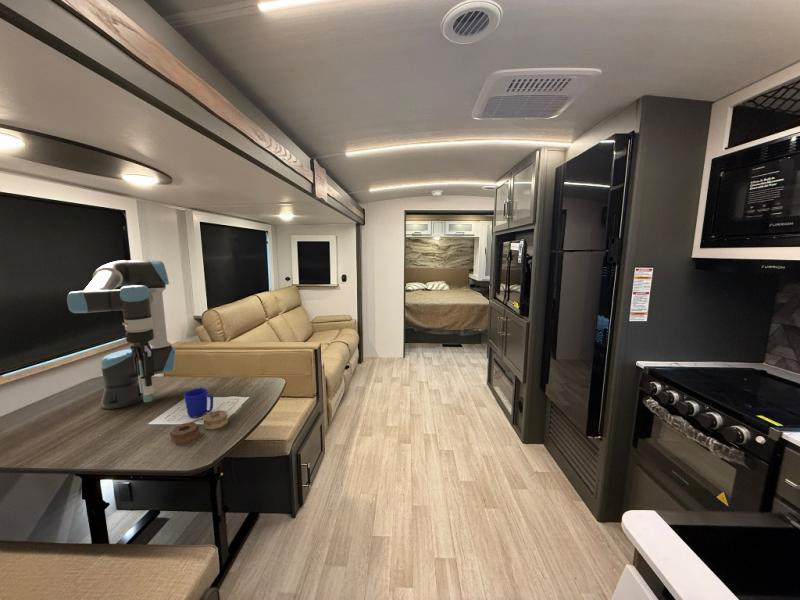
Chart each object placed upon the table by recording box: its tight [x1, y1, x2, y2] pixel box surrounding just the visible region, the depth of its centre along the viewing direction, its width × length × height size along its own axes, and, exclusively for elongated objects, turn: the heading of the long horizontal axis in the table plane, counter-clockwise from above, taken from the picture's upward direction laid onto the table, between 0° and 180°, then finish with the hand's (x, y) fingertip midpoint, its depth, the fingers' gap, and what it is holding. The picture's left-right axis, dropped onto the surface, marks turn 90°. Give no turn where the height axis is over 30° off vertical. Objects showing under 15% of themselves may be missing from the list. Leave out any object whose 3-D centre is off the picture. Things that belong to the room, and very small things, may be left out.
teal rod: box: [139, 360, 153, 403], centre depth 111 cm, size 2×2×16 cm
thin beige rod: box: [186, 414, 206, 423], centre depth 126 cm, size 14×1×1 cm, turn 147°
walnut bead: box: [169, 421, 200, 445], centre depth 115 cm, size 8×8×4 cm
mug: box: [183, 387, 214, 418], centre depth 131 cm, size 8×12×10 cm
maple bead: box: [202, 409, 229, 430], centre depth 124 cm, size 8×8×4 cm
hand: (147, 392), depth 112 cm, fingers closed on teal rod, 2 cm apart
